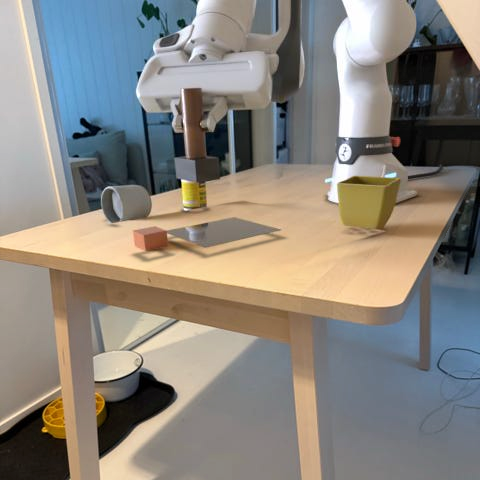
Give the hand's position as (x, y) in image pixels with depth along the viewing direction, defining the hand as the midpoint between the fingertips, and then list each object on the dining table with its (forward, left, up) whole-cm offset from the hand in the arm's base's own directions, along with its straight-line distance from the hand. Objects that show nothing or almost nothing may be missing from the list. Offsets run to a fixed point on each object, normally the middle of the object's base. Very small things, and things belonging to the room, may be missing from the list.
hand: (192, 129), depth 65 cm
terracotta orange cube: (+3, -6, -17) cm, 18 cm away
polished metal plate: (-9, -7, -19) cm, 22 cm away
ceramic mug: (-2, -33, -19) cm, 38 cm away
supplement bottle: (-19, -32, -19) cm, 41 cm away
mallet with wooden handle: (-1, 0, -7) cm, 7 cm away
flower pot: (-31, +7, -19) cm, 37 cm away
